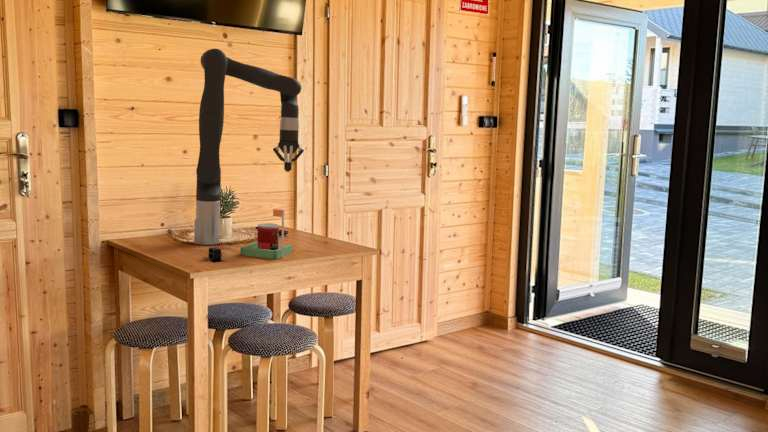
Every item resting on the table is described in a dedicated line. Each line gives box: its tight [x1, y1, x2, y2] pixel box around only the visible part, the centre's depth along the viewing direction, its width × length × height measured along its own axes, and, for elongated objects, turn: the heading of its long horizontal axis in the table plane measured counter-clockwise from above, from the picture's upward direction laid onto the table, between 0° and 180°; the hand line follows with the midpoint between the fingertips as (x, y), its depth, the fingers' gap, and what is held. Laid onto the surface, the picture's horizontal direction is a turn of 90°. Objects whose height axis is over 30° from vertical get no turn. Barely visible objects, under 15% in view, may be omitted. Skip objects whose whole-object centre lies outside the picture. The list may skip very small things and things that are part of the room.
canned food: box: [257, 222, 280, 250], centre depth 269 cm, size 8×8×11 cm
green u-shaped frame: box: [240, 208, 293, 260], centre depth 268 cm, size 16×14×18 cm
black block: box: [202, 246, 227, 264], centre depth 255 cm, size 12×7×5 cm, turn 39°
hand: (287, 171), depth 290 cm, fingers closed
